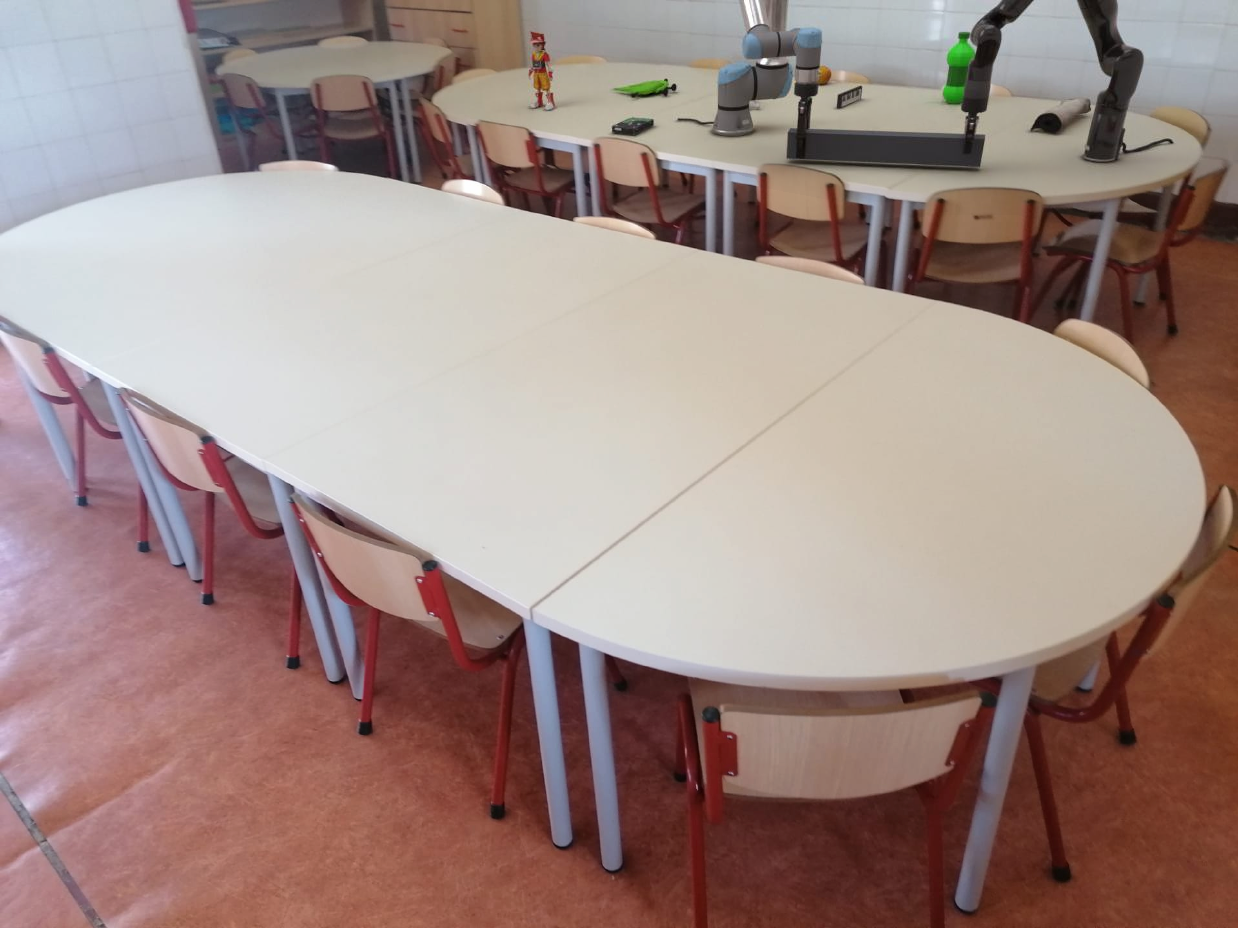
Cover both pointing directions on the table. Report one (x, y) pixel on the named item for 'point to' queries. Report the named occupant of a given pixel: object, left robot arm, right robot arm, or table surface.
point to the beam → (887, 147)
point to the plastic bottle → (958, 68)
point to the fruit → (824, 75)
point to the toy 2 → (648, 88)
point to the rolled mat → (1061, 115)
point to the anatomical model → (753, 105)
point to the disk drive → (632, 126)
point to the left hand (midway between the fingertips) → (801, 155)
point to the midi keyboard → (849, 96)
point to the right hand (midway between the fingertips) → (966, 151)
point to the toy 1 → (541, 71)
